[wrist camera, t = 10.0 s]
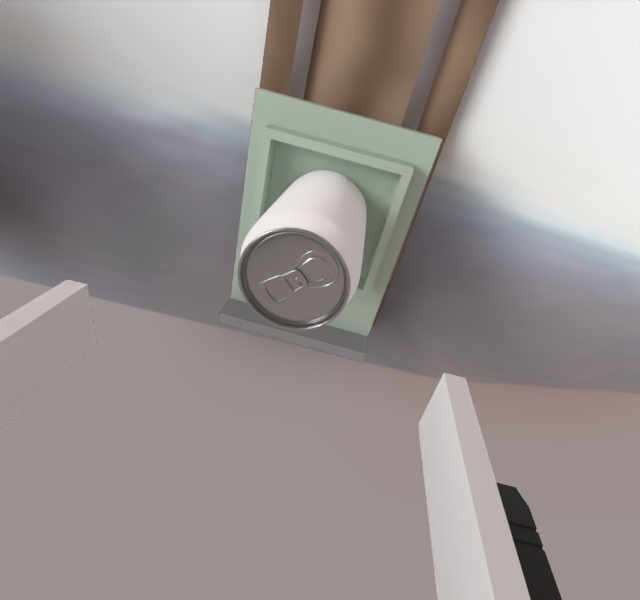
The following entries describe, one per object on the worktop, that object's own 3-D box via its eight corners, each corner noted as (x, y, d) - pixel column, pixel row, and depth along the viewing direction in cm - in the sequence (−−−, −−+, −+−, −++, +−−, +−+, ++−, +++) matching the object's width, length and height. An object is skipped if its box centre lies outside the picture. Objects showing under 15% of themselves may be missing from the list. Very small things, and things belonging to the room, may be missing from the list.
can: (382, 228, 28) (383, 309, 18) (311, 264, 30) (276, 354, 20) (340, 151, 26) (314, 191, 15) (267, 196, 28) (202, 258, 18)
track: (237, 282, 39) (227, 296, 36) (332, -441, 18) (323, -532, 15) (374, 320, 39) (373, 337, 36) (633, -362, 17) (677, -440, 15)
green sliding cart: (242, 288, 37) (218, 322, 31) (269, 88, 28) (243, 88, 22) (365, 323, 37) (363, 362, 31) (435, 134, 27) (448, 144, 22)
